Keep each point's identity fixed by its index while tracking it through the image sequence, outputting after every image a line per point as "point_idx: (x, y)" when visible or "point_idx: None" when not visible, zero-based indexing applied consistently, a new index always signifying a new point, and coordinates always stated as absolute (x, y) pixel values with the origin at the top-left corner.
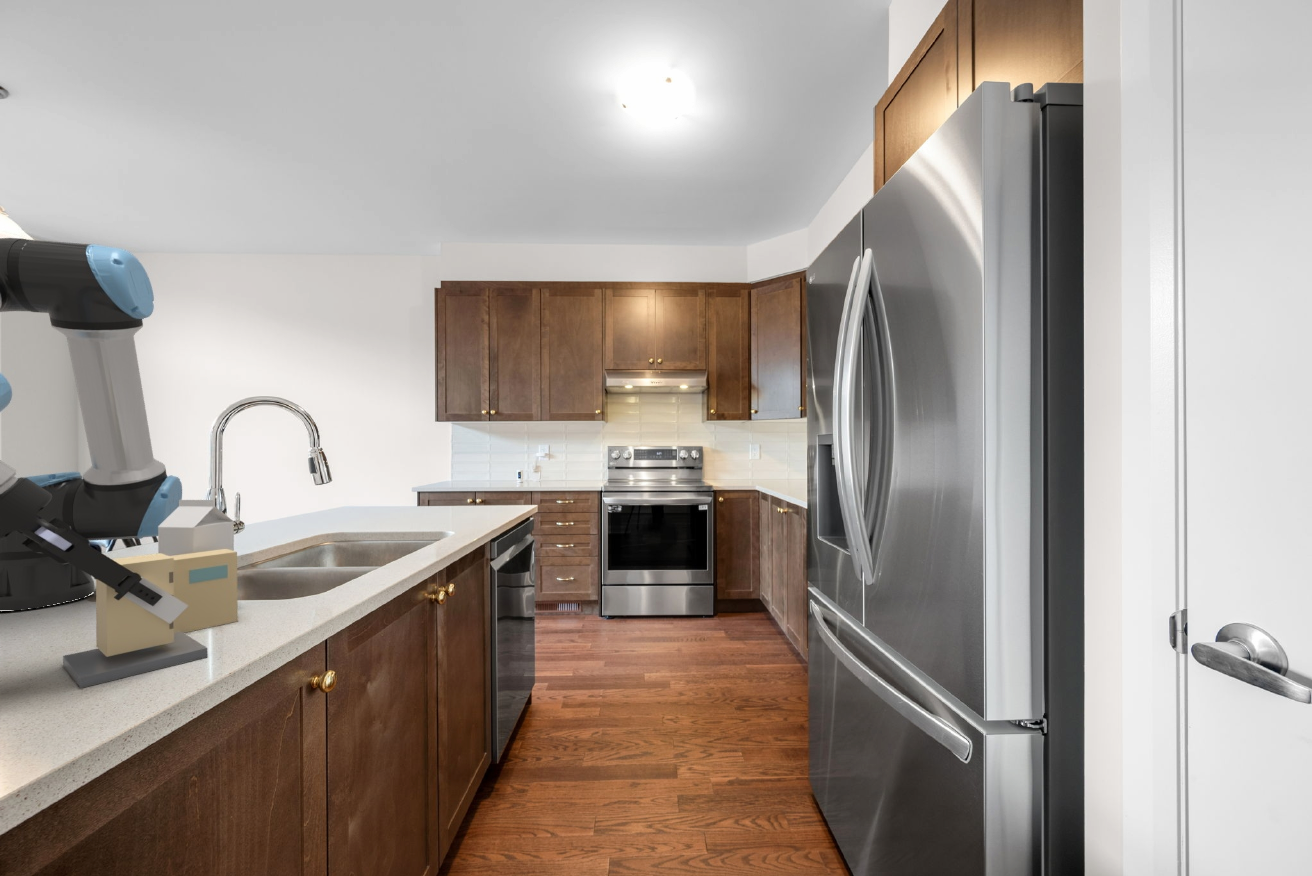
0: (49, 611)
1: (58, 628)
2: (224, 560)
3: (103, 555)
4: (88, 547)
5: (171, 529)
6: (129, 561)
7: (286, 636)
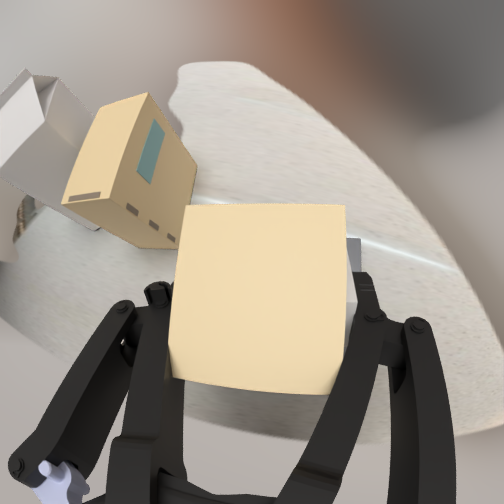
0: (3, 291)
1: (45, 312)
2: (148, 116)
3: (450, 423)
4: (451, 472)
5: (14, 157)
6: (287, 319)
7: (342, 149)
